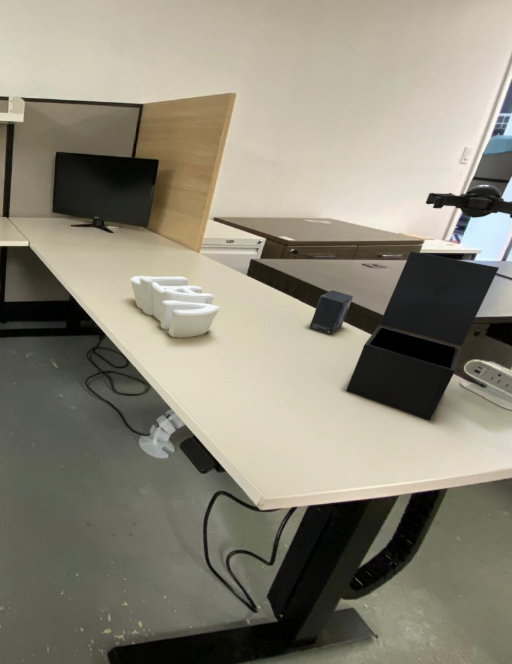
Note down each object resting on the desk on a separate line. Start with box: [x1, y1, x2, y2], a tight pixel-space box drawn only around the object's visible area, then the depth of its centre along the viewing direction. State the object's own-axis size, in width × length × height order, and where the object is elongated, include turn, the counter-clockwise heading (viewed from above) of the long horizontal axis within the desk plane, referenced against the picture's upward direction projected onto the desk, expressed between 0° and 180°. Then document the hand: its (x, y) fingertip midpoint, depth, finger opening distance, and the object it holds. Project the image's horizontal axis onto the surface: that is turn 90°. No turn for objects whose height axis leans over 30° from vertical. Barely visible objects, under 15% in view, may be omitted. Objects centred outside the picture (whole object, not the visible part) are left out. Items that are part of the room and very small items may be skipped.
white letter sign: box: [130, 275, 221, 338], centre depth 136 cm, size 35×16×11 cm, turn 11°
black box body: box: [345, 325, 461, 422], centre depth 104 cm, size 17×16×12 cm
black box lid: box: [379, 251, 500, 347], centre depth 105 cm, size 18×16×1 cm
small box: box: [308, 289, 354, 336], centre depth 139 cm, size 11×6×10 cm, turn 134°
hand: (476, 206), depth 104 cm, fingers open, 12 cm apart
